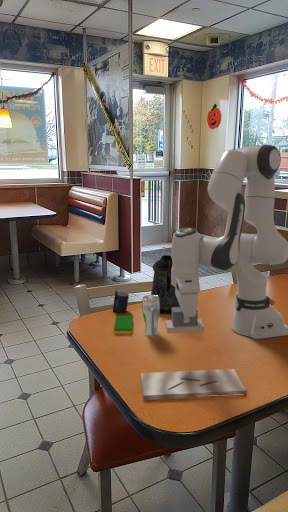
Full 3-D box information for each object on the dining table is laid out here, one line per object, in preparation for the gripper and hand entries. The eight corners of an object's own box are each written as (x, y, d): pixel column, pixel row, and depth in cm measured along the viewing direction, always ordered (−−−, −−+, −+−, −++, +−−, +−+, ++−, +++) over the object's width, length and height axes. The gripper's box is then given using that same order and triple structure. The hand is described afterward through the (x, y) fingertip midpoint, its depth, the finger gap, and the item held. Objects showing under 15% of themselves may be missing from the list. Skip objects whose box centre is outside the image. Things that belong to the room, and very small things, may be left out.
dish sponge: (132, 320, 167) (132, 315, 166) (131, 334, 153) (131, 329, 153) (116, 320, 167) (115, 315, 166) (113, 335, 153) (113, 329, 153)
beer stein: (165, 299, 191) (165, 250, 185) (196, 309, 177) (197, 257, 171) (141, 307, 180) (140, 256, 174) (171, 319, 166) (171, 263, 160)
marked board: (233, 373, 124) (233, 368, 124) (245, 395, 113) (245, 390, 112) (140, 377, 122) (140, 372, 122) (143, 400, 111) (143, 395, 110)
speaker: (108, 311, 176) (110, 289, 173) (114, 307, 181) (116, 286, 178) (123, 315, 173) (125, 293, 170) (128, 311, 178) (130, 290, 176)
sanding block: (200, 324, 132) (200, 304, 130) (204, 331, 126) (204, 311, 124) (165, 325, 131) (165, 306, 129) (167, 333, 125) (167, 313, 123)
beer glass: (158, 337, 150) (158, 301, 146) (141, 336, 151) (140, 300, 148) (161, 329, 156) (161, 295, 153) (144, 328, 158) (144, 294, 154)
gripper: (171, 269, 134) (171, 306, 137) (180, 289, 114) (180, 332, 118) (189, 269, 134) (188, 306, 138) (201, 289, 114) (200, 331, 118)
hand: (184, 318), depth 127 cm, fingers closed on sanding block, 4 cm apart
